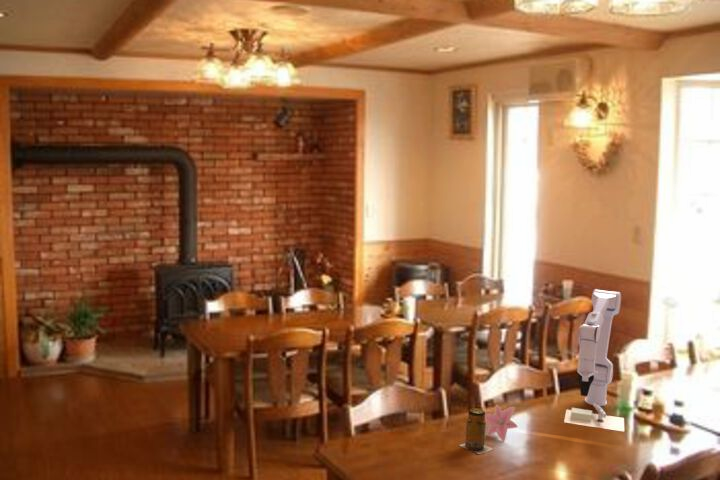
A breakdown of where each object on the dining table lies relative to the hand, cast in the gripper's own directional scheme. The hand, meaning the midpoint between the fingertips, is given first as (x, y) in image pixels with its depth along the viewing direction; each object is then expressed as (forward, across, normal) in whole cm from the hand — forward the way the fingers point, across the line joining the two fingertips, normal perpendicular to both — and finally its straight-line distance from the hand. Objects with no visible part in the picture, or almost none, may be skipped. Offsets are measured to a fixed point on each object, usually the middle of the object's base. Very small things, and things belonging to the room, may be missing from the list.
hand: (584, 395), depth 261 cm
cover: (+8, 0, 0) cm, 9 cm away
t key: (+8, +2, -6) cm, 10 cm away
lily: (+10, -26, +26) cm, 38 cm away
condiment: (+10, -40, +31) cm, 51 cm away
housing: (+10, 0, -4) cm, 10 cm away
